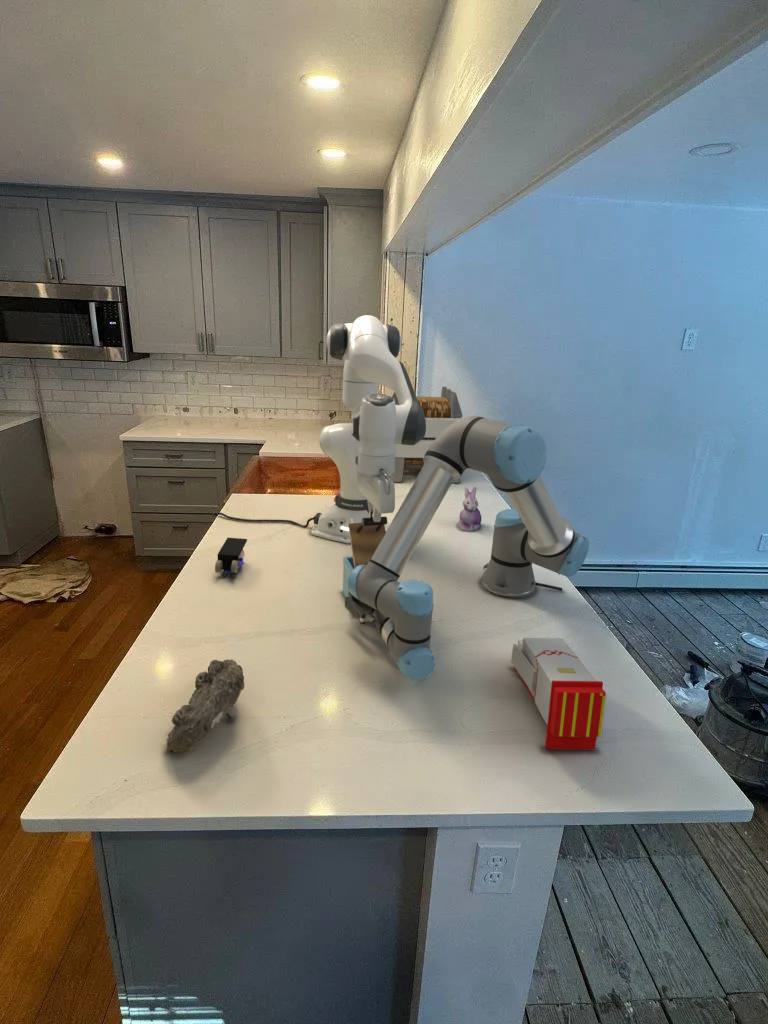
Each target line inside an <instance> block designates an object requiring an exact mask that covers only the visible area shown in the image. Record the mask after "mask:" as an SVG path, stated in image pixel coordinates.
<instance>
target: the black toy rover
mask: <svg viewBox="0 0 768 1024" xmlns="http://www.w3.org/2000/svg"><path fill="white" fill-rule="evenodd" d="M247 542H248V538H240V537H226V539H225V541H224V543H223V544H222V546H221V547H220V549H219V551H218V552H217V560H216V562H215V564H214V572H215V573H221V577H222V578H224V577H225V576H226V574H227V573H230V574H231V573H232V574H231V578H234V577H235V575H236V573H237V572H239V571H240V567H242V566H243V565H244V564H245V562H244V558H245V551H244V547H245V546H246V544H247Z"/></svg>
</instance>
